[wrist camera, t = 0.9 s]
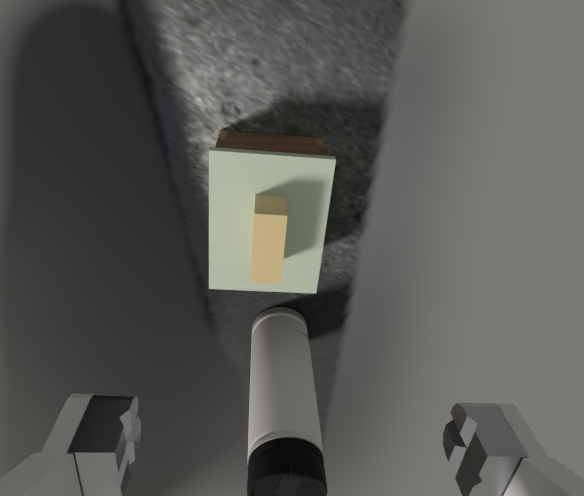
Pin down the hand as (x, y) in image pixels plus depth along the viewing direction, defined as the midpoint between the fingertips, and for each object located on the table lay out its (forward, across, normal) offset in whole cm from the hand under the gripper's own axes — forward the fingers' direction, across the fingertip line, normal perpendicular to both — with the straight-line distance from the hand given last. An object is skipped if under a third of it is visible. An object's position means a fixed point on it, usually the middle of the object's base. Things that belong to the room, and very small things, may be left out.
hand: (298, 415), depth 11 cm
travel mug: (+32, -2, +23) cm, 40 cm away
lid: (+26, 0, +7) cm, 27 cm away
